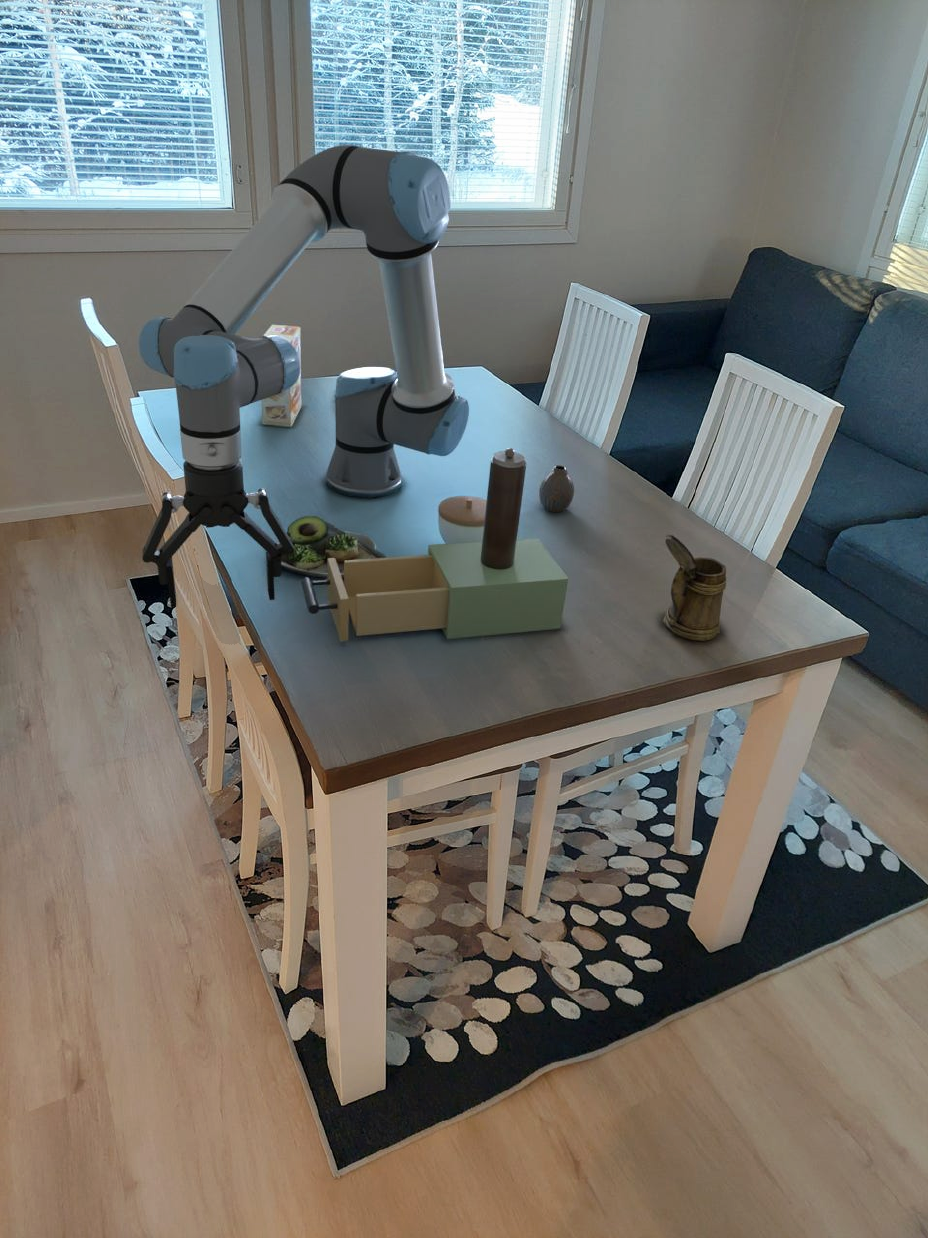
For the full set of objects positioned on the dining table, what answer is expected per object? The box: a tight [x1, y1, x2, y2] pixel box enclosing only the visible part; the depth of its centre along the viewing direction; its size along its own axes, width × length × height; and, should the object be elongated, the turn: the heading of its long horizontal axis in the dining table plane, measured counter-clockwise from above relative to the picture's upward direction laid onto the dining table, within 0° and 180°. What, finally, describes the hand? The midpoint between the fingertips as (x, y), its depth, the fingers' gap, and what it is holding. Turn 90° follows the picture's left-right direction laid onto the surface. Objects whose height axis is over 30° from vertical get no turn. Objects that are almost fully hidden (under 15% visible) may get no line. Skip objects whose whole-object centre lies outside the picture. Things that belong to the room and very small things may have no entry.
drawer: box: [300, 554, 450, 642], centre depth 132 cm, size 22×12×7 cm, turn 106°
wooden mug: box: [663, 534, 728, 642], centre depth 135 cm, size 9×14×18 cm, turn 118°
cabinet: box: [427, 537, 569, 640], centre depth 137 cm, size 19×14×9 cm
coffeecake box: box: [261, 324, 302, 428], centre depth 202 cm, size 15×7×20 cm, turn 179°
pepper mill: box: [481, 447, 527, 569], centre depth 130 cm, size 5×5×19 cm
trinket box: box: [437, 495, 487, 544], centre depth 155 cm, size 11×11×9 cm
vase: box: [538, 464, 575, 513], centre depth 173 cm, size 7×7×9 cm
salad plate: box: [276, 515, 388, 579], centre depth 149 cm, size 19×18×5 cm
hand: (223, 598), depth 125 cm, fingers open, 13 cm apart
